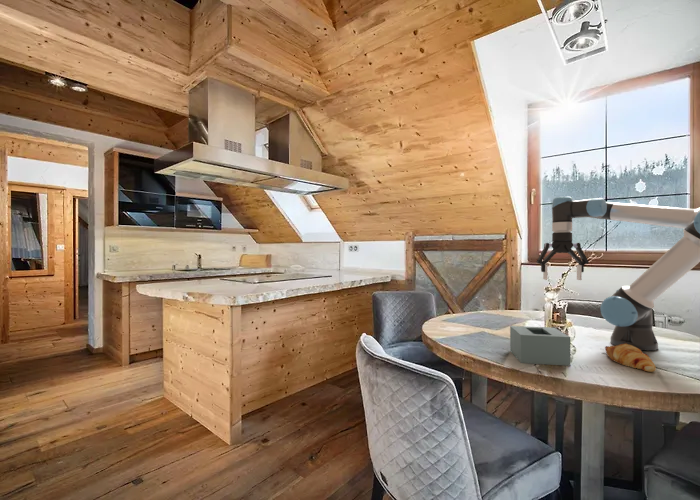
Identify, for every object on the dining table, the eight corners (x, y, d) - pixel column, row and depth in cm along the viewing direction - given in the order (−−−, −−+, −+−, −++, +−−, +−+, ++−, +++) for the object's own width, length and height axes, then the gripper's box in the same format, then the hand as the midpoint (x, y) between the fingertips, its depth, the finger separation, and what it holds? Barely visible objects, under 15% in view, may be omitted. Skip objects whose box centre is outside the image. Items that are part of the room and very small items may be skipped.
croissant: (663, 385, 108) (675, 363, 108) (635, 370, 108) (648, 349, 108) (613, 361, 130) (623, 343, 129) (590, 349, 130) (600, 331, 129)
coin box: (554, 353, 130) (554, 327, 130) (570, 365, 117) (570, 337, 116) (510, 350, 133) (510, 325, 133) (520, 362, 120) (520, 334, 120)
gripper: (589, 232, 150) (589, 279, 151) (528, 232, 155) (529, 278, 156) (598, 231, 143) (598, 280, 143) (534, 232, 148) (534, 280, 148)
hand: (562, 279), depth 149 cm, fingers open, 13 cm apart
